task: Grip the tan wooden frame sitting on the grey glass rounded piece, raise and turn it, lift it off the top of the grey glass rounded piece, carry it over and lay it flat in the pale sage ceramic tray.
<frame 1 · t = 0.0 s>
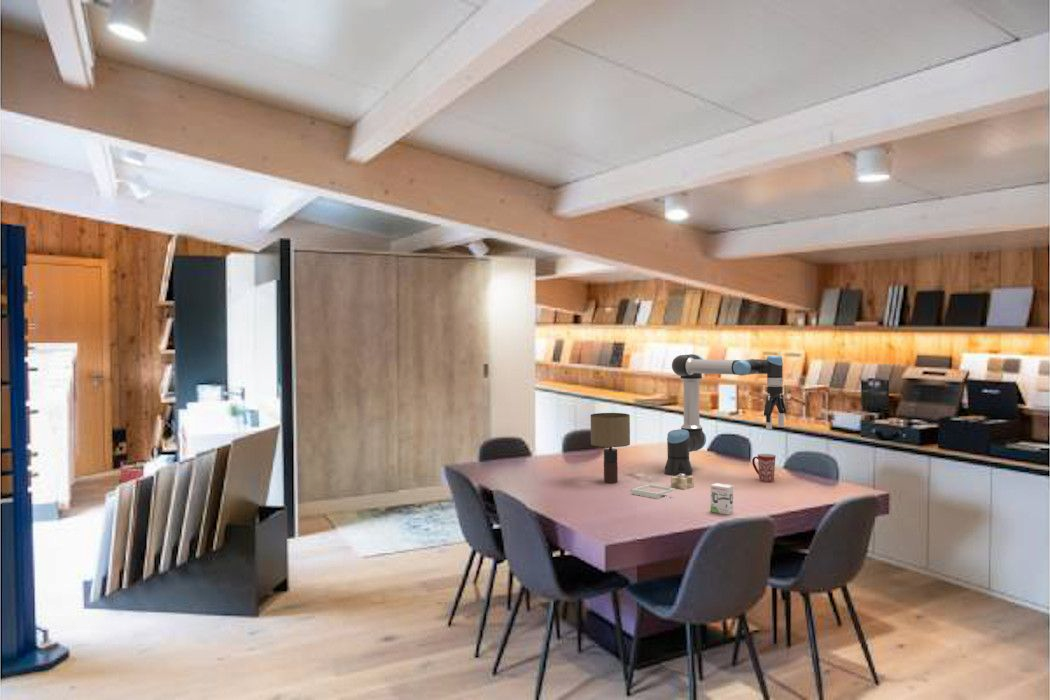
hand: (775, 427, 366), 28 cm above the table, fingers open, 13 cm apart
ink box: (721, 512, 307), on the table
tray: (653, 493, 344), on the table
lamp: (610, 482, 372), on the table
tan wooden frame: (682, 487, 351), point 1 cm above the table, touching grey glass rounded piece
mug: (763, 480, 371), on the table
grey glass rounded piece: (682, 490, 351), on the table
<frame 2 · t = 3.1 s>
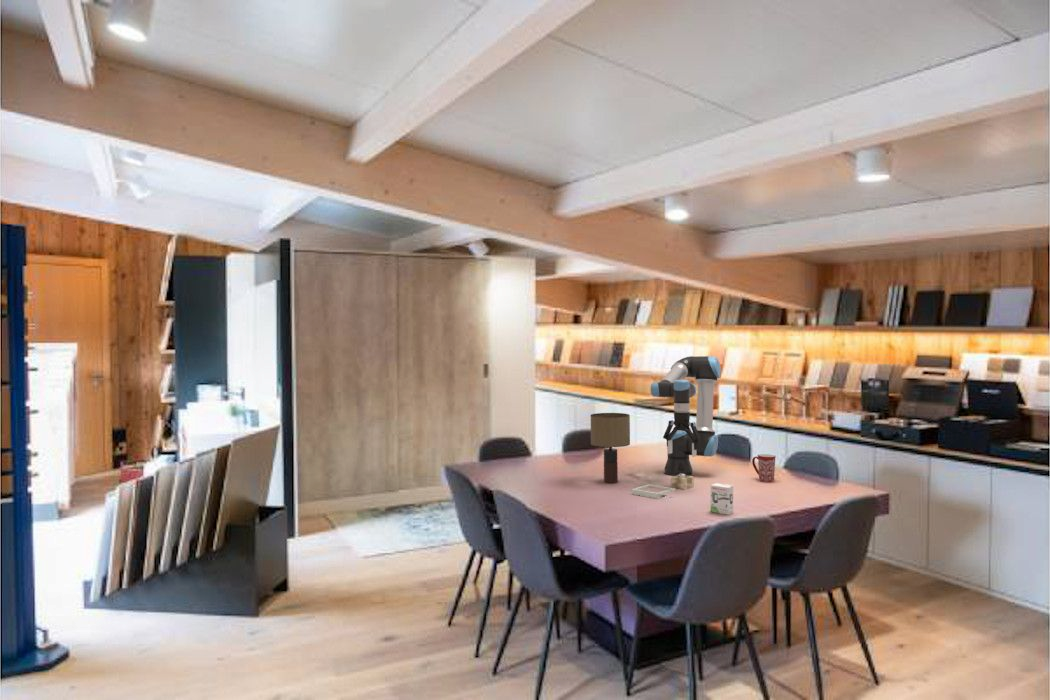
hand: (682, 454, 350), 17 cm above the table, fingers open, 13 cm apart
nothing on the table moved.
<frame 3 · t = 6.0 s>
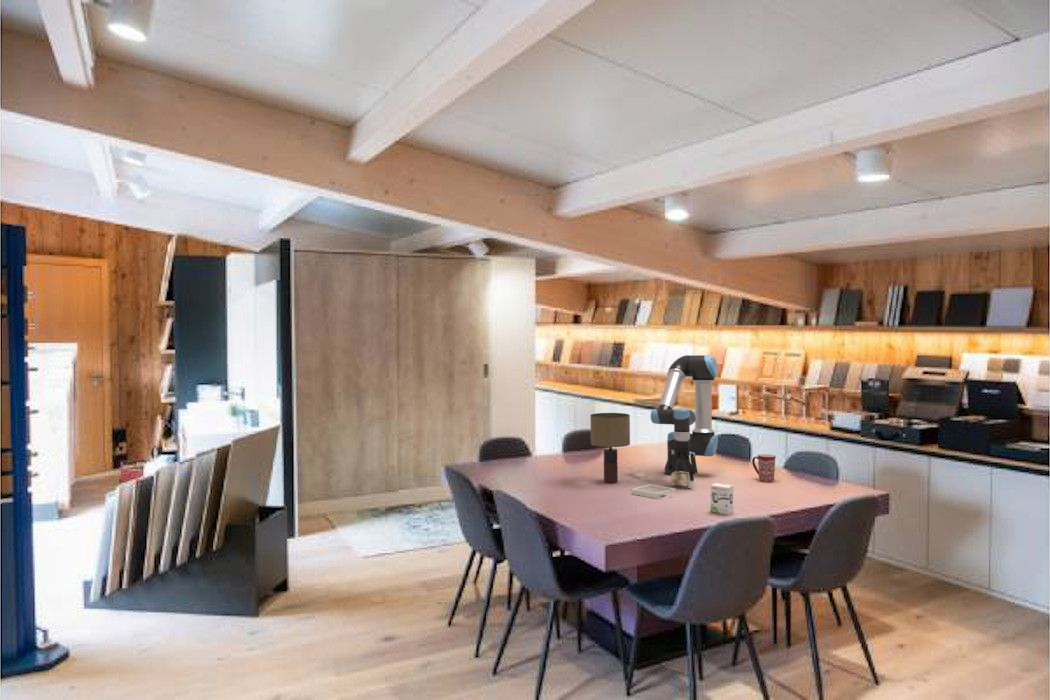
hand: (682, 486, 351), 2 cm above the table, fingers closed on tan wooden frame, 8 cm apart
tan wooden frame: (682, 483, 351), point 3 cm above the table, touching gripper
everything else where it was.
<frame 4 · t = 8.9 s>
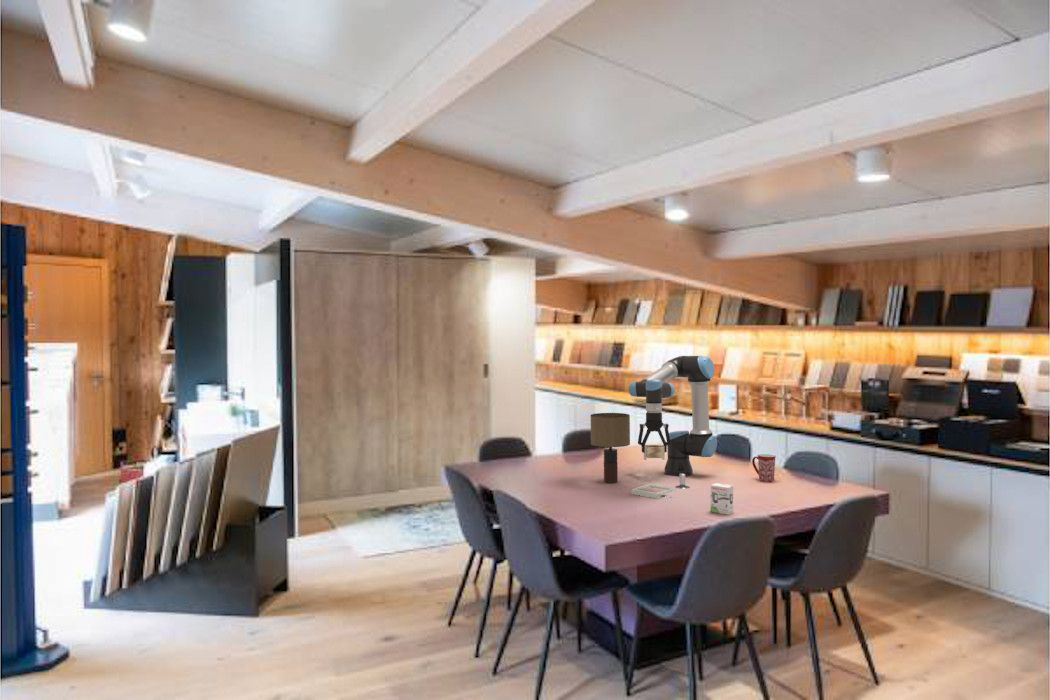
hand: (654, 459, 343), 17 cm above the table, fingers closed on tan wooden frame, 8 cm apart
tan wooden frame: (654, 456, 343), point 18 cm above the table, touching gripper
everything else where it was.
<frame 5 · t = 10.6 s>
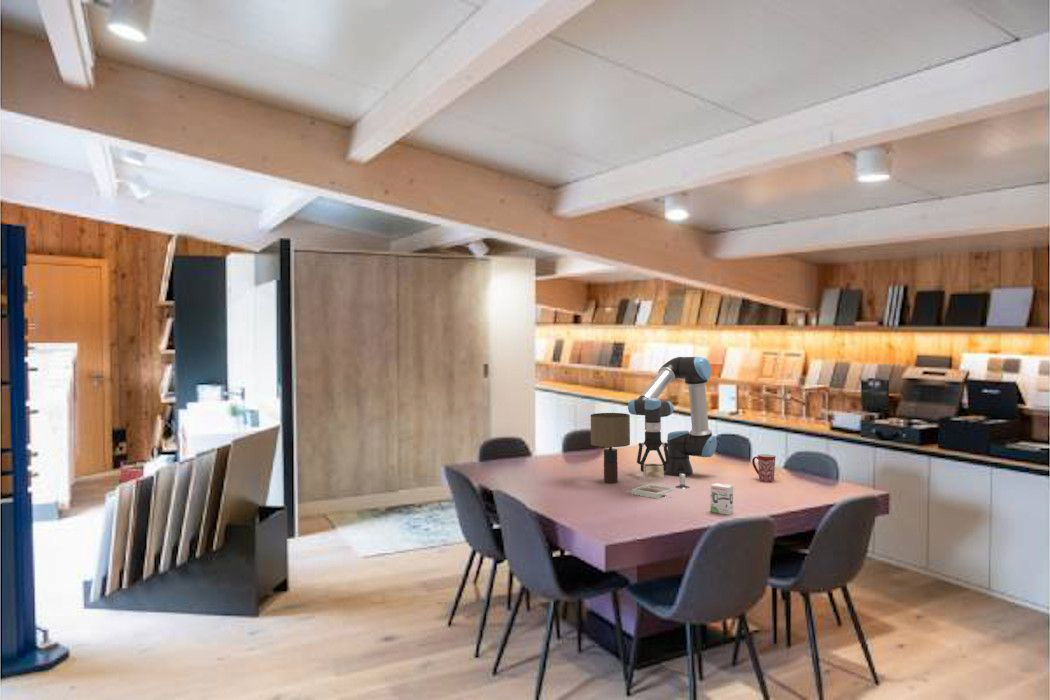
hand: (653, 478, 343), 8 cm above the table, fingers closed on tan wooden frame, 8 cm apart
tan wooden frame: (653, 475, 343), point 9 cm above the table, touching gripper
everything else where it was.
when the fingers open (2 cm above the table, at t = 12.0 s): tan wooden frame drops 2 cm, resting on tray.
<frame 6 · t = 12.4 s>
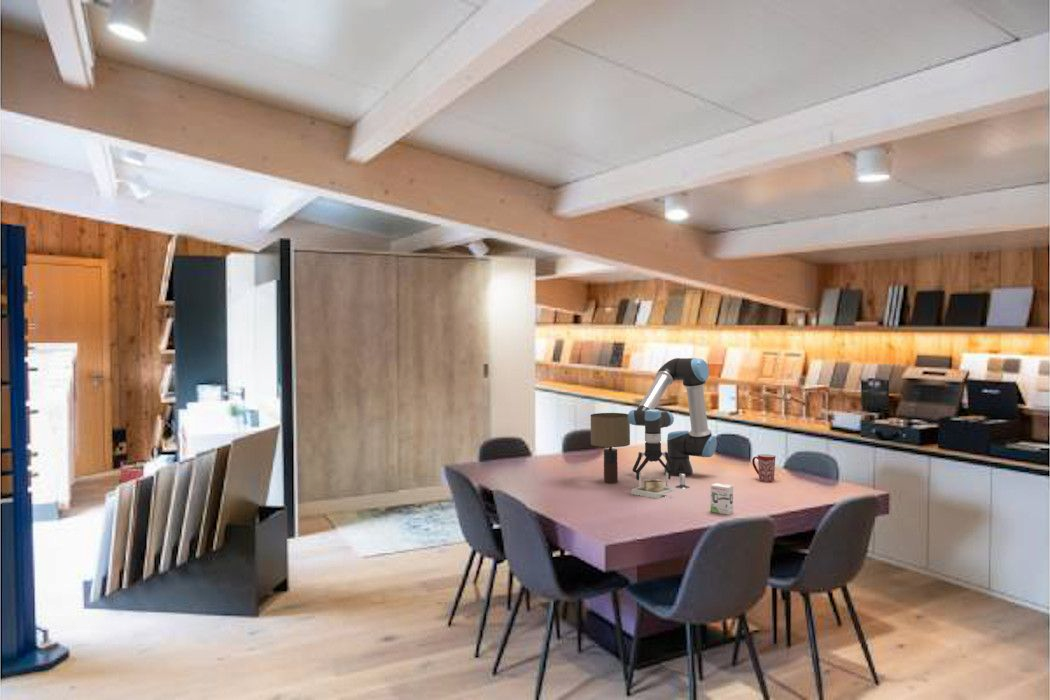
hand: (653, 486, 344), 4 cm above the table, fingers open, 12 cm apart
tan wooden frame: (653, 491, 344), point 1 cm above the table, touching tray
everything else where it was.
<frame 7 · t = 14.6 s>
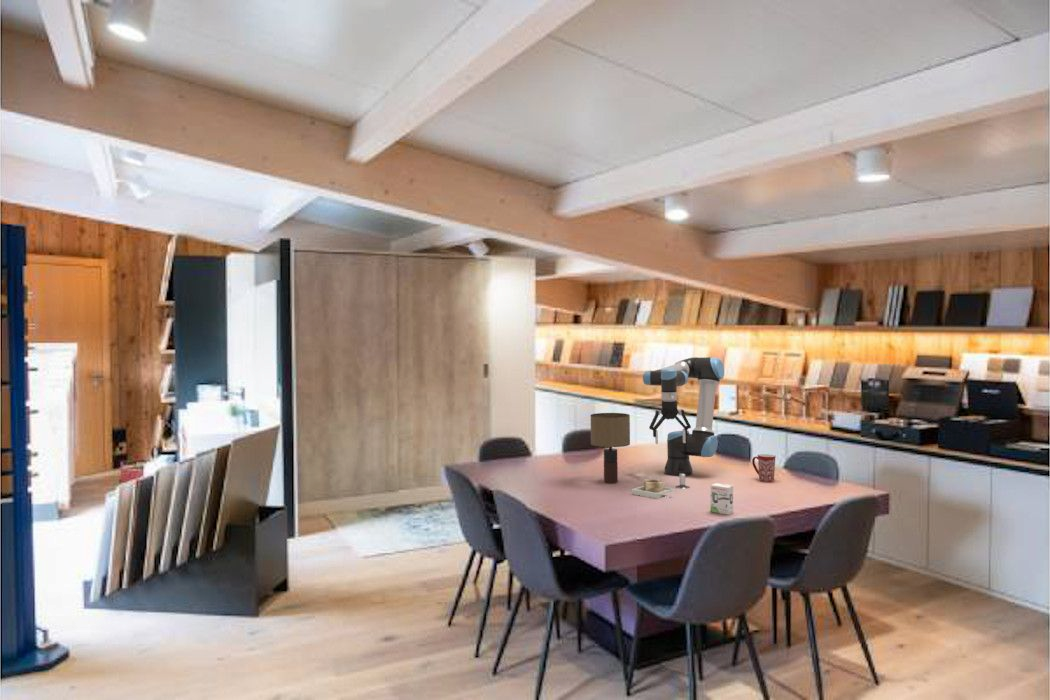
hand: (670, 443, 354), 23 cm above the table, fingers open, 13 cm apart
nothing on the table moved.
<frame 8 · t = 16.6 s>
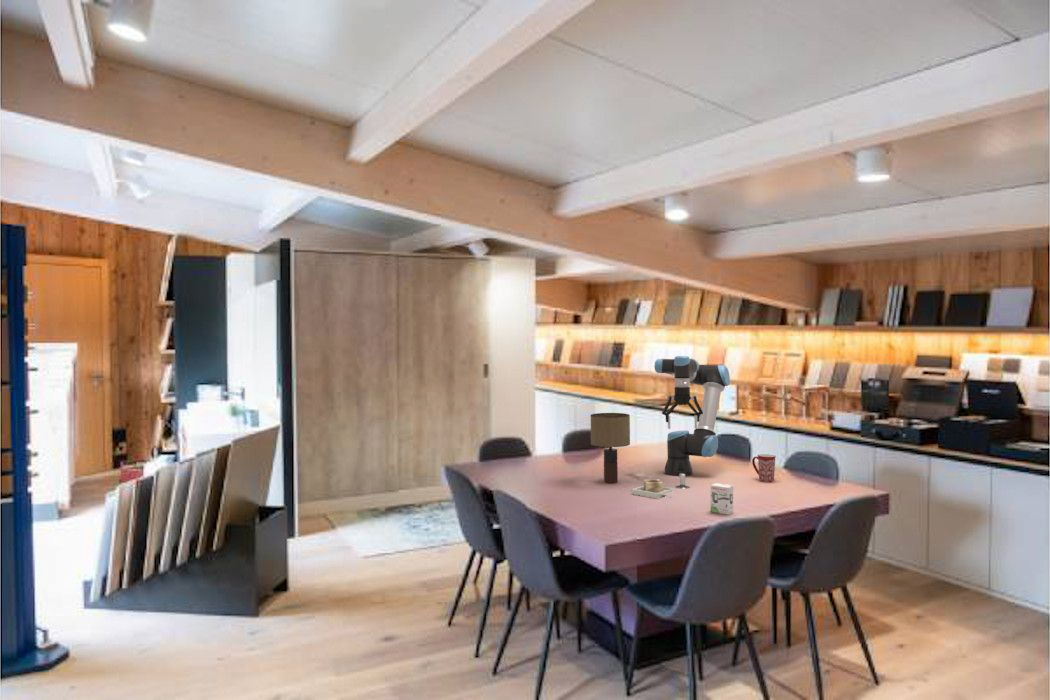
hand: (682, 428, 361), 29 cm above the table, fingers open, 13 cm apart
nothing on the table moved.
at the end: tan wooden frame inside the target area on the tray (0.1 cm from its centre), point 1.0 cm above the tray's base; tan wooden frame tilted 0°; the gripper is holding nothing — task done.
